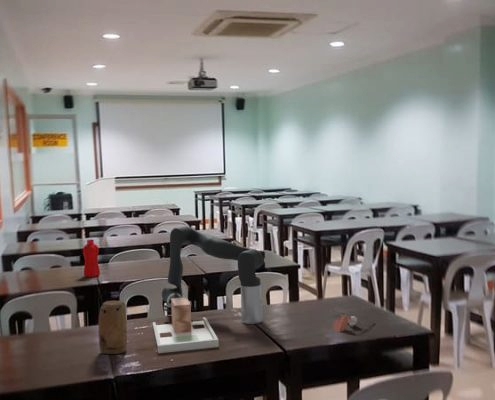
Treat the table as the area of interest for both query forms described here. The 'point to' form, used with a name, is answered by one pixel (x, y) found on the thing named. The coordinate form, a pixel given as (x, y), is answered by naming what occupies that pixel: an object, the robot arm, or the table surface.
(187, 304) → the terracotta block
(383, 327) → the table surface
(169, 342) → the box
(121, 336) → the block
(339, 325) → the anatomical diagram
